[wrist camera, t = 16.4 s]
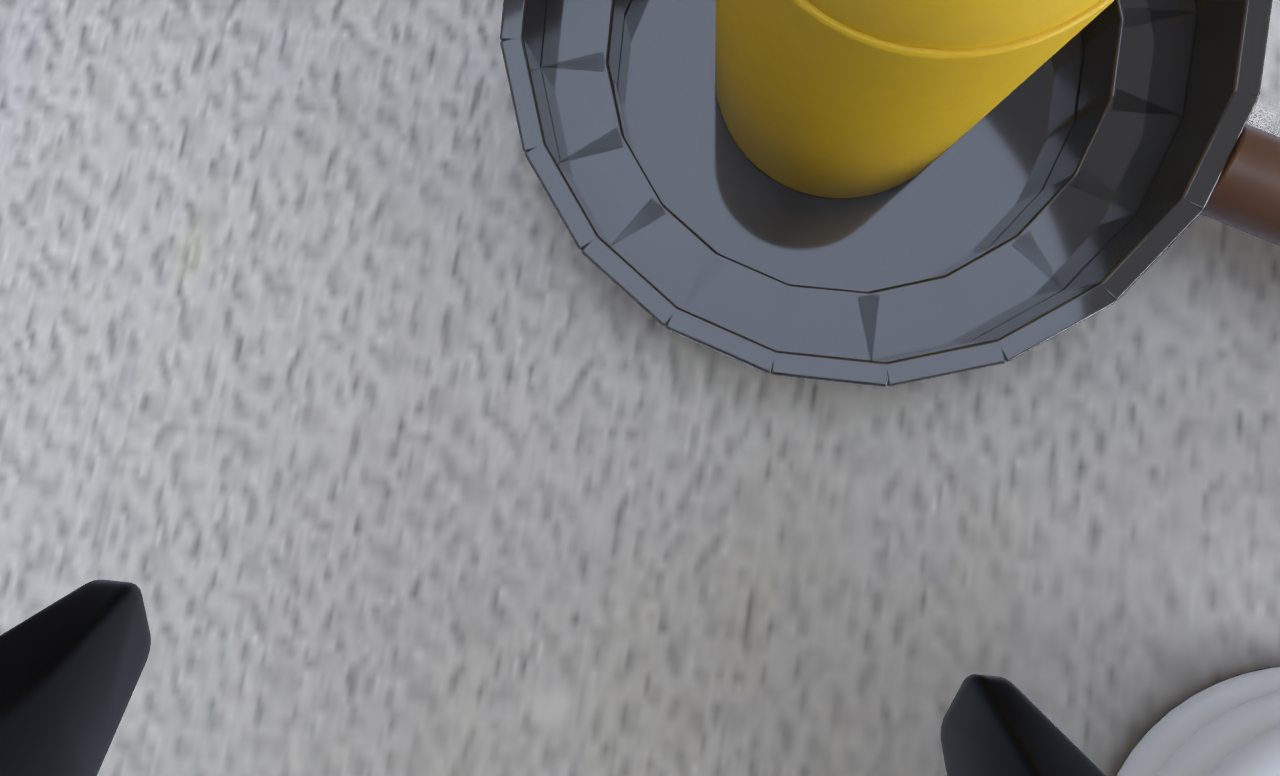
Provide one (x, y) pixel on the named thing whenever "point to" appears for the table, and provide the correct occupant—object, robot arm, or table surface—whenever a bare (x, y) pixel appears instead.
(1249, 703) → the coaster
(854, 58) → the pepper
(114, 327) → the table surface
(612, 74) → the dark grey frying pan
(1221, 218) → the handle
